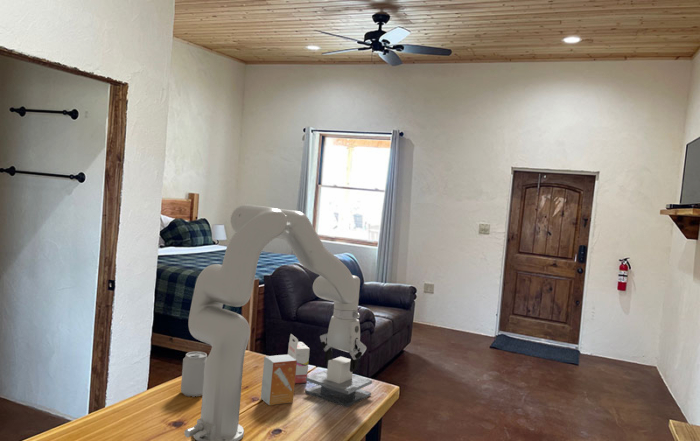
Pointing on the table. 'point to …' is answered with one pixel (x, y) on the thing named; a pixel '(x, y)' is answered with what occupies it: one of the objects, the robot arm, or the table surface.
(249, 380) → the table surface
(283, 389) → the small box
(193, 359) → the can
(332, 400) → the stand
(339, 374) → the block
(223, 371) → the robot arm
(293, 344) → the ink cartridge box
